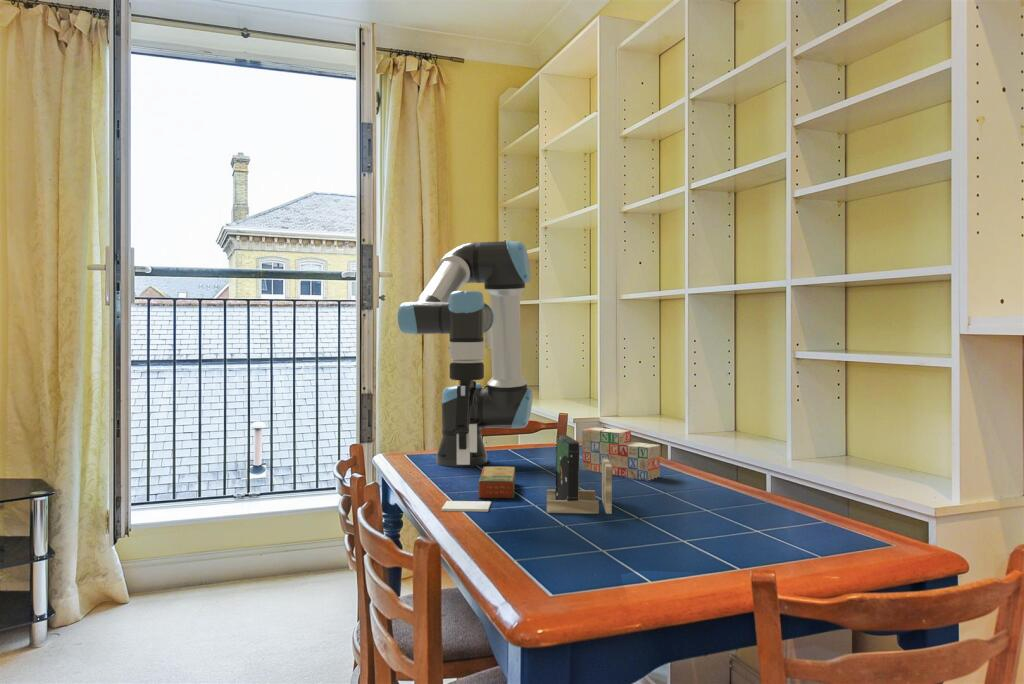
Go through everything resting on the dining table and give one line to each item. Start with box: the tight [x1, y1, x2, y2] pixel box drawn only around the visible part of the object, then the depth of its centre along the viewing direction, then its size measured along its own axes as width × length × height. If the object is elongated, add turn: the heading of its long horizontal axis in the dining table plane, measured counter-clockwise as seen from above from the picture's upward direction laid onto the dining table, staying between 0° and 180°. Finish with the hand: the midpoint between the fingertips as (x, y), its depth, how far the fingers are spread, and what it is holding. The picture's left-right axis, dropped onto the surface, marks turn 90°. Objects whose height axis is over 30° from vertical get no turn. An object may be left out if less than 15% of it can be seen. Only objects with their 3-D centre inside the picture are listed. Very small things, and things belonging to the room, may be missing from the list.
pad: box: [441, 500, 492, 513], centre depth 149 cm, size 7×10×1 cm
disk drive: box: [555, 434, 581, 501], centre depth 149 cm, size 10×3×15 cm, turn 12°
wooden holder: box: [546, 457, 613, 515], centre depth 149 cm, size 11×14×10 cm
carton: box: [477, 466, 516, 499], centre depth 164 cm, size 8×16×4 cm, turn 179°
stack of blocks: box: [581, 427, 661, 482], centre depth 185 cm, size 21×6×12 cm, turn 47°
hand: (467, 458), depth 149 cm, fingers open, 13 cm apart
